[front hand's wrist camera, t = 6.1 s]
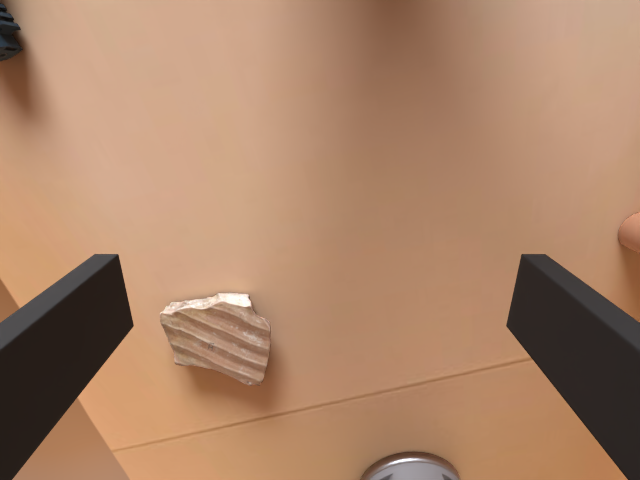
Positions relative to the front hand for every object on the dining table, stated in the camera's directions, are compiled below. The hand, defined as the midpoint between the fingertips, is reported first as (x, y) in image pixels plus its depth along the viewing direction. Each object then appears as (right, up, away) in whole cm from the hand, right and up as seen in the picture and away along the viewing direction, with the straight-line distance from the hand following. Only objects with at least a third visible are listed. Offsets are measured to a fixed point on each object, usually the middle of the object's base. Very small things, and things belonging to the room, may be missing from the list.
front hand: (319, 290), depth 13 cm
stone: (-12, -10, +34) cm, 38 cm away
